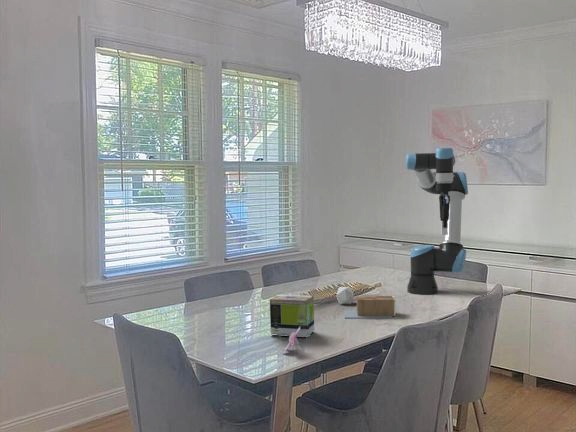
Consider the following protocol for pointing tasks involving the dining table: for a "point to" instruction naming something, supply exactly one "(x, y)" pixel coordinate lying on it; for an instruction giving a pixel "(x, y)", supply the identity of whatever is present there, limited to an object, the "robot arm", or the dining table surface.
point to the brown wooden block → (375, 306)
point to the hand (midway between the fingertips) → (444, 234)
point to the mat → (354, 315)
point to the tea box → (292, 315)
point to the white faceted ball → (345, 295)
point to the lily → (293, 339)
